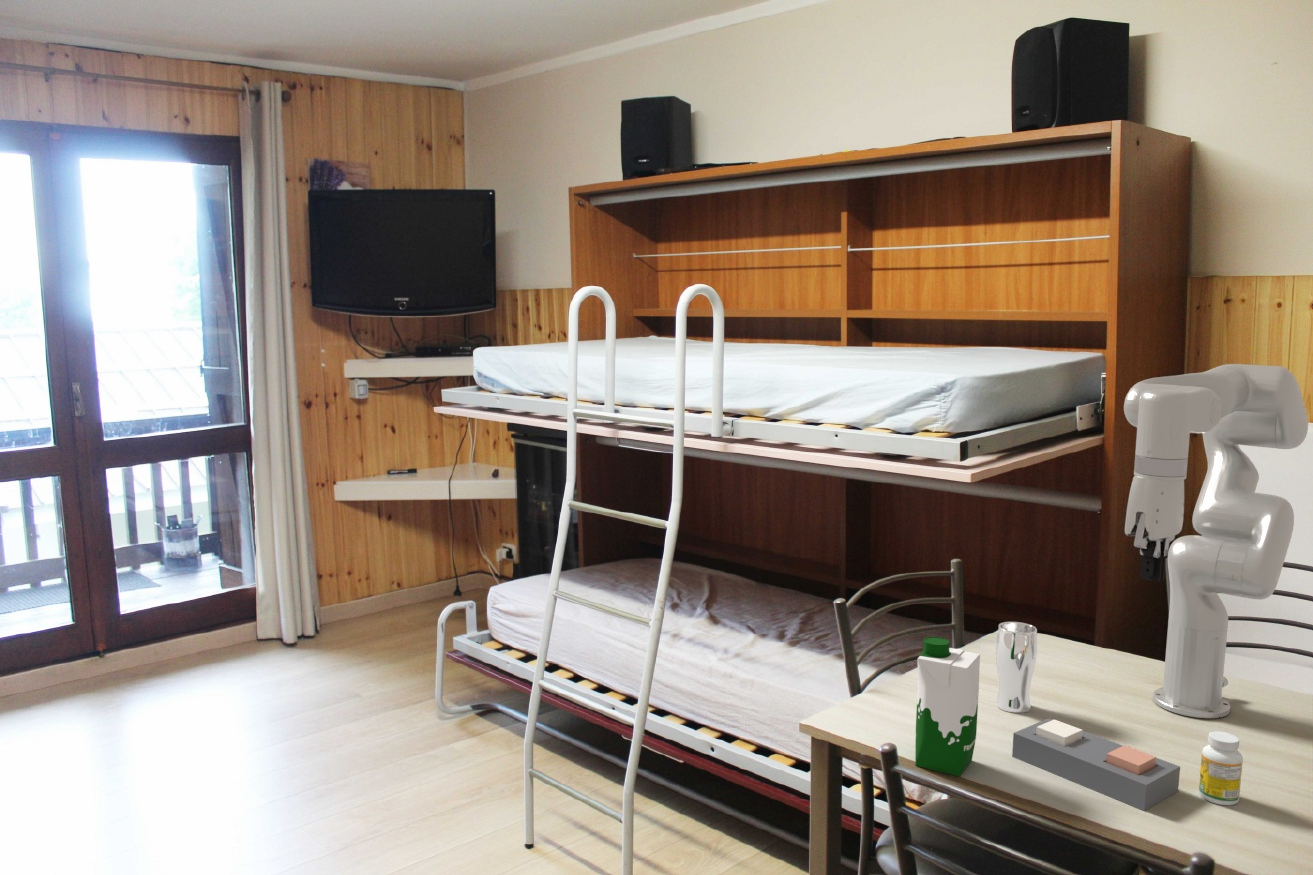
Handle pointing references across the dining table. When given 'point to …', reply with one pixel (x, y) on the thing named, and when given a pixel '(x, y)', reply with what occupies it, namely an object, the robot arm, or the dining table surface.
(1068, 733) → the off-white key
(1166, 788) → the key panel
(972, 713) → the milk carton
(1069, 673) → the dining table surface
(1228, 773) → the supplement bottle
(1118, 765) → the terracotta key
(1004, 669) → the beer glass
